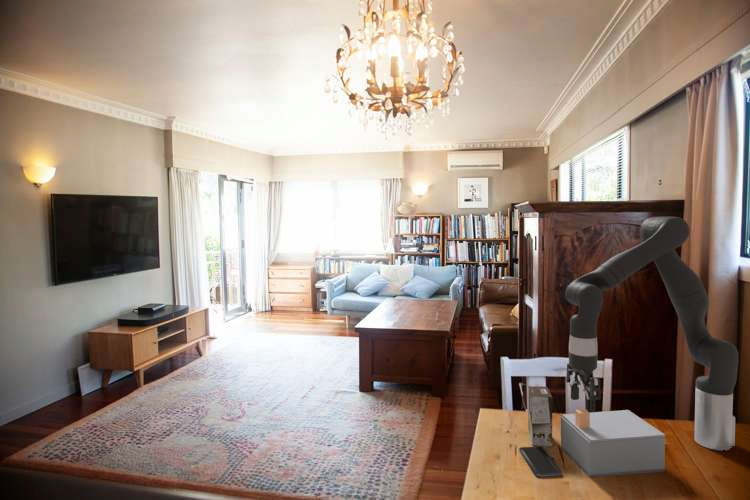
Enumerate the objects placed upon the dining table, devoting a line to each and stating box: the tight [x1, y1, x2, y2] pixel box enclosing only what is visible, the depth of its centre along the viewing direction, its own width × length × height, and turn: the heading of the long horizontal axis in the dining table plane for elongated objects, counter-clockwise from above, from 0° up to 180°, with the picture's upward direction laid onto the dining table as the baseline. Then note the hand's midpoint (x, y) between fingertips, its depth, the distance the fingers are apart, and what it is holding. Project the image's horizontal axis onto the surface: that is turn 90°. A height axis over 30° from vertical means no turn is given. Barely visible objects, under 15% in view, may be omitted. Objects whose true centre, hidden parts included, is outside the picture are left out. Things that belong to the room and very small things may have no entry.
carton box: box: [560, 416, 666, 478], centre depth 132 cm, size 22×16×10 cm
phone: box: [518, 446, 563, 479], centre depth 132 cm, size 8×1×15 cm
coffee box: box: [527, 385, 553, 447], centre depth 144 cm, size 9×6×16 cm
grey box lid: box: [561, 408, 666, 442], centre depth 131 cm, size 22×16×5 cm
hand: (582, 405), depth 130 cm, fingers open, 8 cm apart
